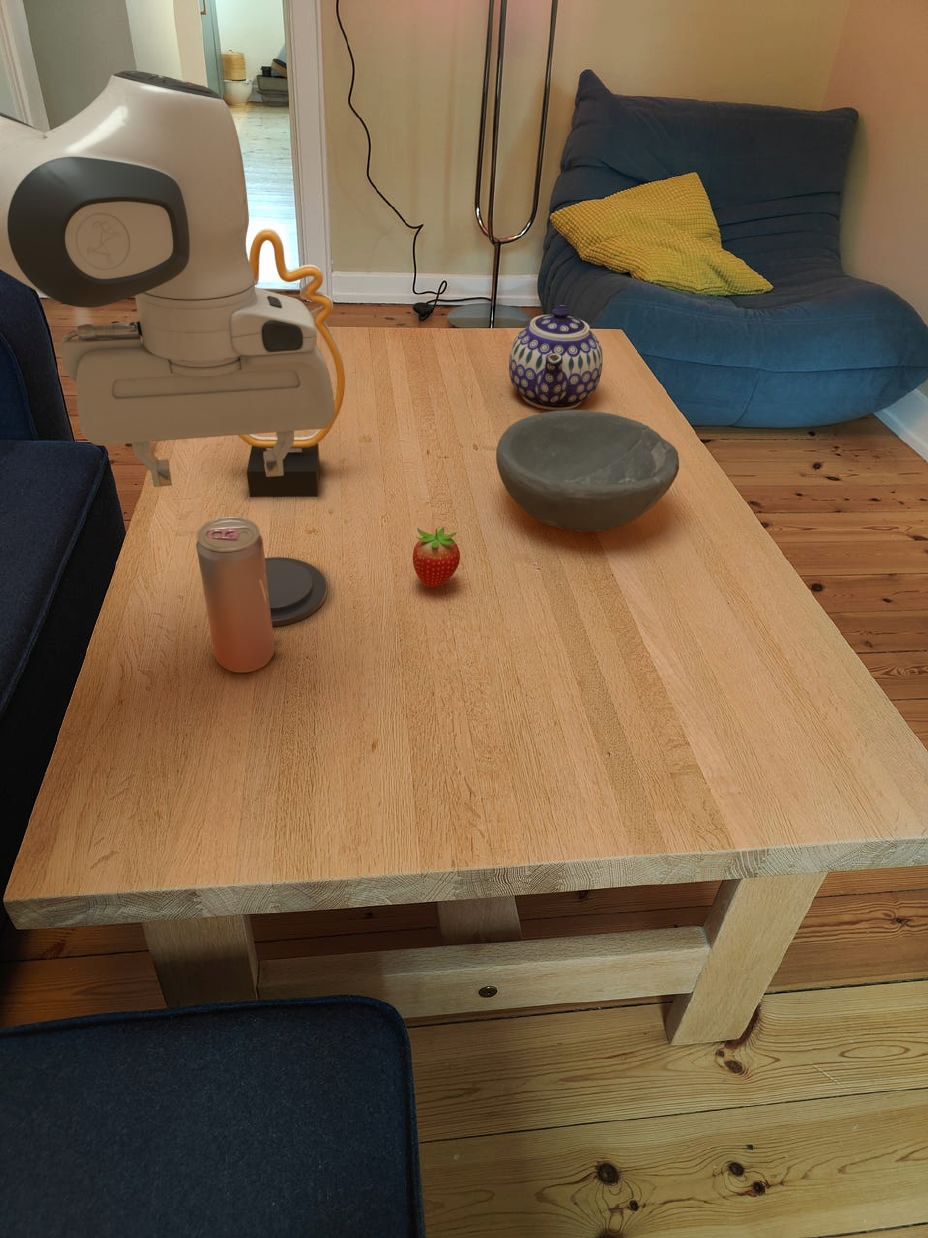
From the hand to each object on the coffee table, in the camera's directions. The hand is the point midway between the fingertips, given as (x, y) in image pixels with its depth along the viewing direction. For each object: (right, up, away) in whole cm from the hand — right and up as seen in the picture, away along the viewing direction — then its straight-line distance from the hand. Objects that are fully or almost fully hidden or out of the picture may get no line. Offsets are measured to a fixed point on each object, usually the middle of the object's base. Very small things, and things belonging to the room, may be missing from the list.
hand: (219, 478), depth 75 cm
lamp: (-3, +6, +41) cm, 42 cm away
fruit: (+18, -9, +24) cm, 31 cm away
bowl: (+36, +2, +39) cm, 53 cm away
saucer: (0, -9, +21) cm, 23 cm away
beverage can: (-1, -16, +13) cm, 21 cm away
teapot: (+36, +24, +67) cm, 79 cm away
